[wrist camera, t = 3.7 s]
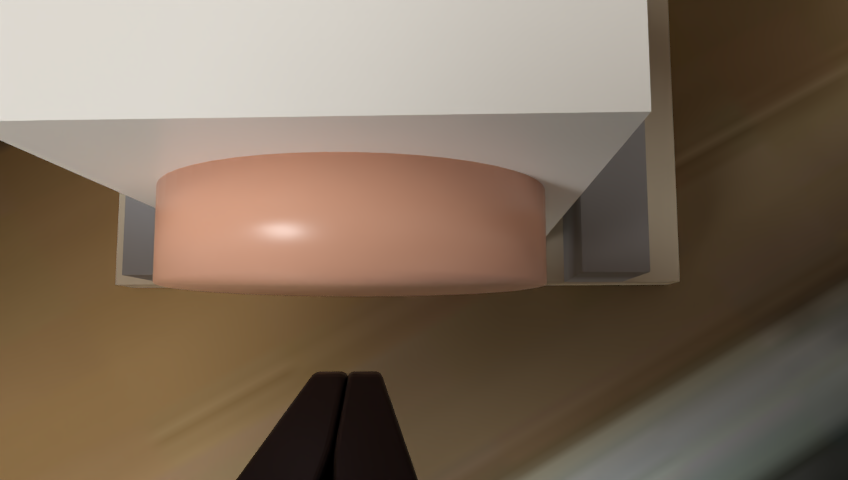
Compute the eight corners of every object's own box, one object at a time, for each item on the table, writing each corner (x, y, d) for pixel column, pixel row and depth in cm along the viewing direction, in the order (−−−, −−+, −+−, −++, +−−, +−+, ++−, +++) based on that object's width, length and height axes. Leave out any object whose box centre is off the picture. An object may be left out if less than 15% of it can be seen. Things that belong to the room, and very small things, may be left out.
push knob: (537, 305, 17) (656, 253, 7) (248, 306, 17) (-52, 258, 7) (531, 17, 17) (630, -416, 7) (256, 22, 18) (-6, -389, 8)
